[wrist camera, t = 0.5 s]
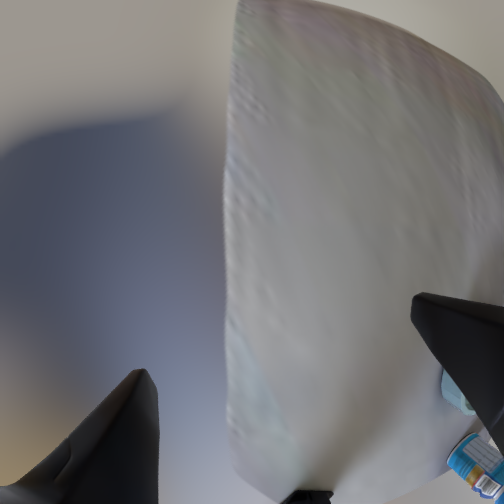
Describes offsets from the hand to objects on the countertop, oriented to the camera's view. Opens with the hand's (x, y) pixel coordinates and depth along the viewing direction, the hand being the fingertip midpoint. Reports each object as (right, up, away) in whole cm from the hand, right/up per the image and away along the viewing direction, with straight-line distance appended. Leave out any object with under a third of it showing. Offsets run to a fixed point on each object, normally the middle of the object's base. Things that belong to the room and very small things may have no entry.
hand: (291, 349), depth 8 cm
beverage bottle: (+39, -35, +21) cm, 57 cm away
